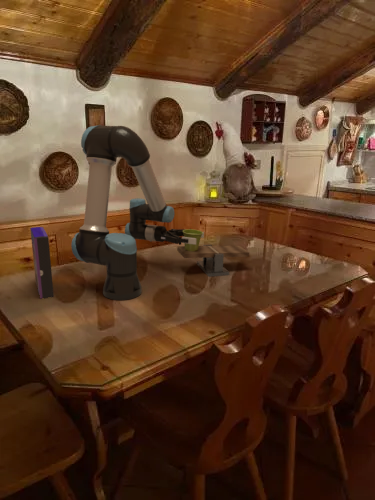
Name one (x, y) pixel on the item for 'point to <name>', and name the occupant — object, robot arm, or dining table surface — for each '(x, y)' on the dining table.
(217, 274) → the beam stand
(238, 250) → the balance beam
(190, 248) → the plant pot
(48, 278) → the cereal box
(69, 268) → the dining table surface
